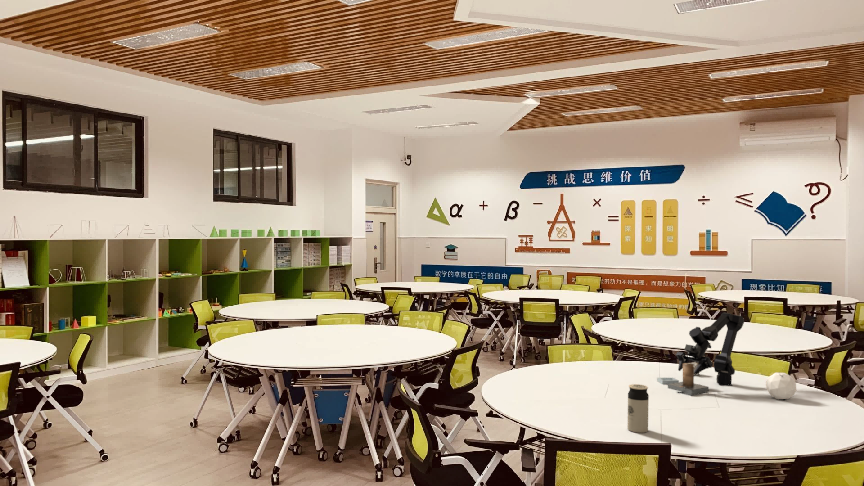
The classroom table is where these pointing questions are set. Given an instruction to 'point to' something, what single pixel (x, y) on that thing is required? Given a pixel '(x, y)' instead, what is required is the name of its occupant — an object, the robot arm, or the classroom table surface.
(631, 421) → the travel mug
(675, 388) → the hub plate
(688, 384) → the knob
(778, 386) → the geodesic sphere
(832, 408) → the classroom table surface
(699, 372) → the spiky grey ball
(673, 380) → the rest block
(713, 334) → the robot arm
